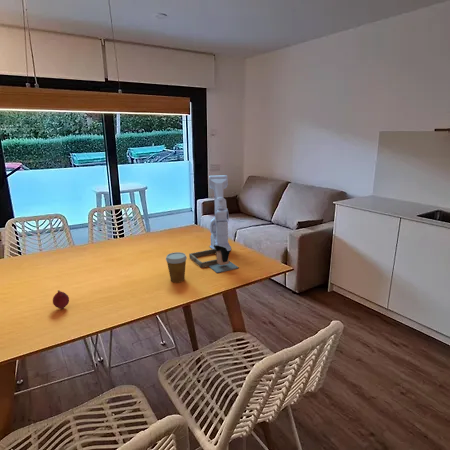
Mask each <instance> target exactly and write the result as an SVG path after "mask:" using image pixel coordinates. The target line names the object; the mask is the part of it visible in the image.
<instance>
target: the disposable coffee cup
mask: <svg viewBox="0 0 450 450" xmlns="http://www.w3.org/2000/svg"><path fill="white" fill-rule="evenodd" d="M187 257H188V256H187V255H186V253H184V252H177V251H175V252H171V253H168V254H167V255H166V257H165V261H166V265H167V269H168V273H169V278H170V282H171V283H181V282H185V277H186V263H187Z"/></svg>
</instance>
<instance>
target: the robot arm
mask: <svg viewBox="0 0 450 450" xmlns="http://www.w3.org/2000/svg"><path fill="white" fill-rule="evenodd" d="M228 180H229V178H228V175H227V174H224V175H223V174H222V175H209V176H208V187H209V189H211V190H213V193H214V194H213V195H214V216H213V218H212V219H210V221H209V227H210V234H211V235H210V245H209V248H211V249H216V252H217V251H220V252H221V254H222V260H223V262H227V260H228V256H229V255H230V253H231V251H232V246H231V245H230V243H229V225H228V224H229V218H230V216H229V210H228V209H229V208H227V199H226V198H224V189H227V187H228V186H229V185H228V183H229V181H228ZM229 257H230V256H229Z"/></svg>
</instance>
